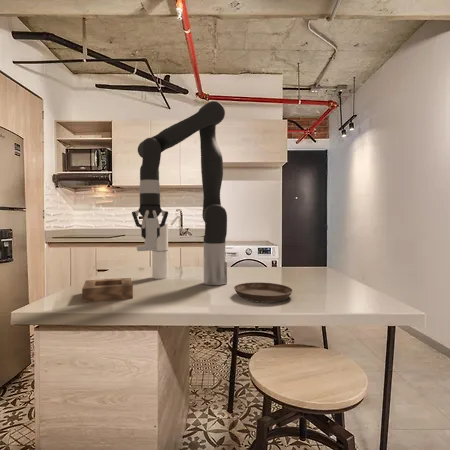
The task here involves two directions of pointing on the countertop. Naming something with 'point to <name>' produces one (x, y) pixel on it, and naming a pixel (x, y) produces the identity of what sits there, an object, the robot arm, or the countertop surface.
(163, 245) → the cylindrical container
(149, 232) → the grey block
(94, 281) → the well block
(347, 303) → the countertop surface
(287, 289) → the plant saucer
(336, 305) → the countertop surface
